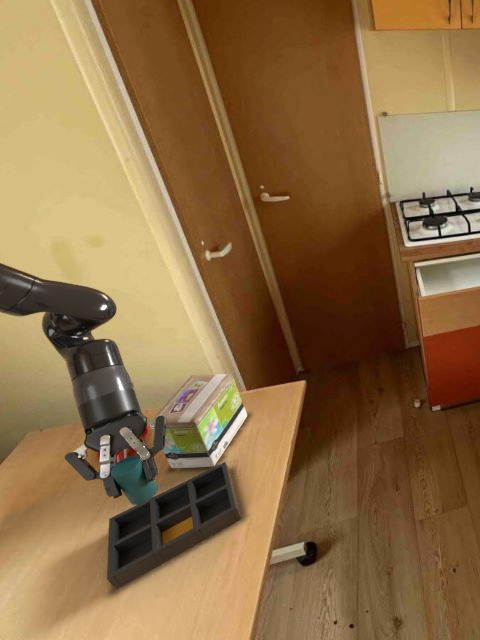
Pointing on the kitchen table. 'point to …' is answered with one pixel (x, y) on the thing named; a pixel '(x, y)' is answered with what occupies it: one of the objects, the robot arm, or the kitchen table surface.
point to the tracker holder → (124, 453)
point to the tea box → (202, 420)
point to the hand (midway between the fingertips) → (135, 488)
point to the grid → (170, 524)
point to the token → (133, 480)
